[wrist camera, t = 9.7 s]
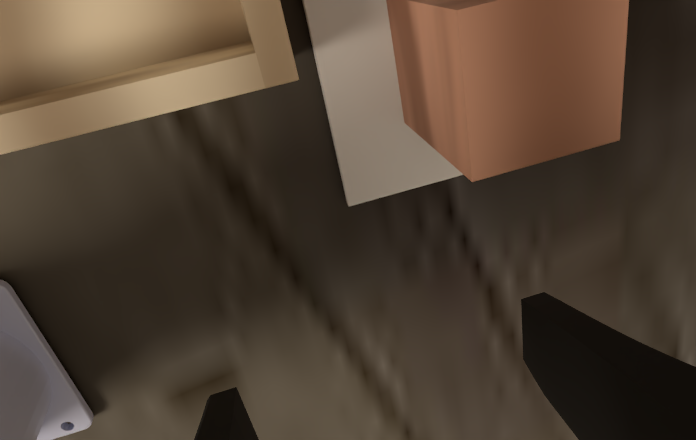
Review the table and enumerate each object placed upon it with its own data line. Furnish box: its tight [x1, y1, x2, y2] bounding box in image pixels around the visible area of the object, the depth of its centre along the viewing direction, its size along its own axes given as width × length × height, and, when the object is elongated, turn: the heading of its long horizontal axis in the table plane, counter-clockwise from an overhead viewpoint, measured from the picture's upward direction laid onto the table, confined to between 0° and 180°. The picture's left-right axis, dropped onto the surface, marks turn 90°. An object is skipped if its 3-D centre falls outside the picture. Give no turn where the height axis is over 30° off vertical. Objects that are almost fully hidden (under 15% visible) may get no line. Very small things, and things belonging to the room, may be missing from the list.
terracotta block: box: [386, 0, 629, 182], centre depth 16 cm, size 4×4×6 cm
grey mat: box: [302, 0, 463, 206], centre depth 19 cm, size 10×10×1 cm
